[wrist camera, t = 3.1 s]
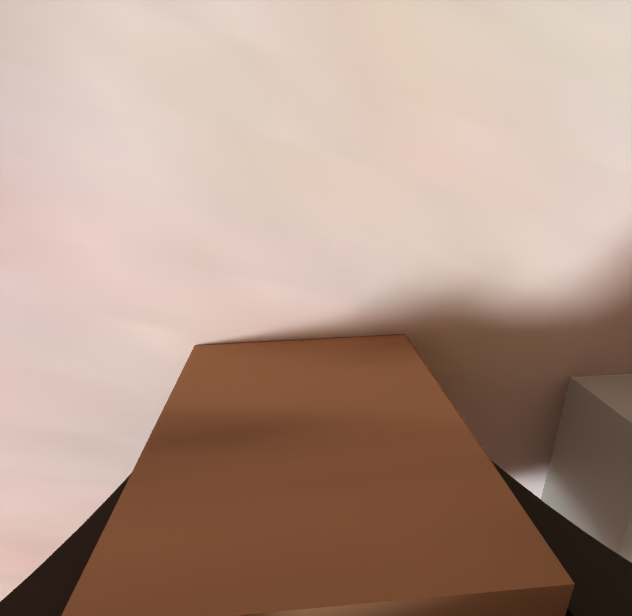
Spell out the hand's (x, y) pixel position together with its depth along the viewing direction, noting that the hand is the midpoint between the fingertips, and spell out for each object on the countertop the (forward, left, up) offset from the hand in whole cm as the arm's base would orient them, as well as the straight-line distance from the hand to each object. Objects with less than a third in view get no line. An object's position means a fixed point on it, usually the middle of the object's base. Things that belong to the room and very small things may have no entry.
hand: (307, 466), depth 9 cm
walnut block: (0, 0, -1) cm, 1 cm away
